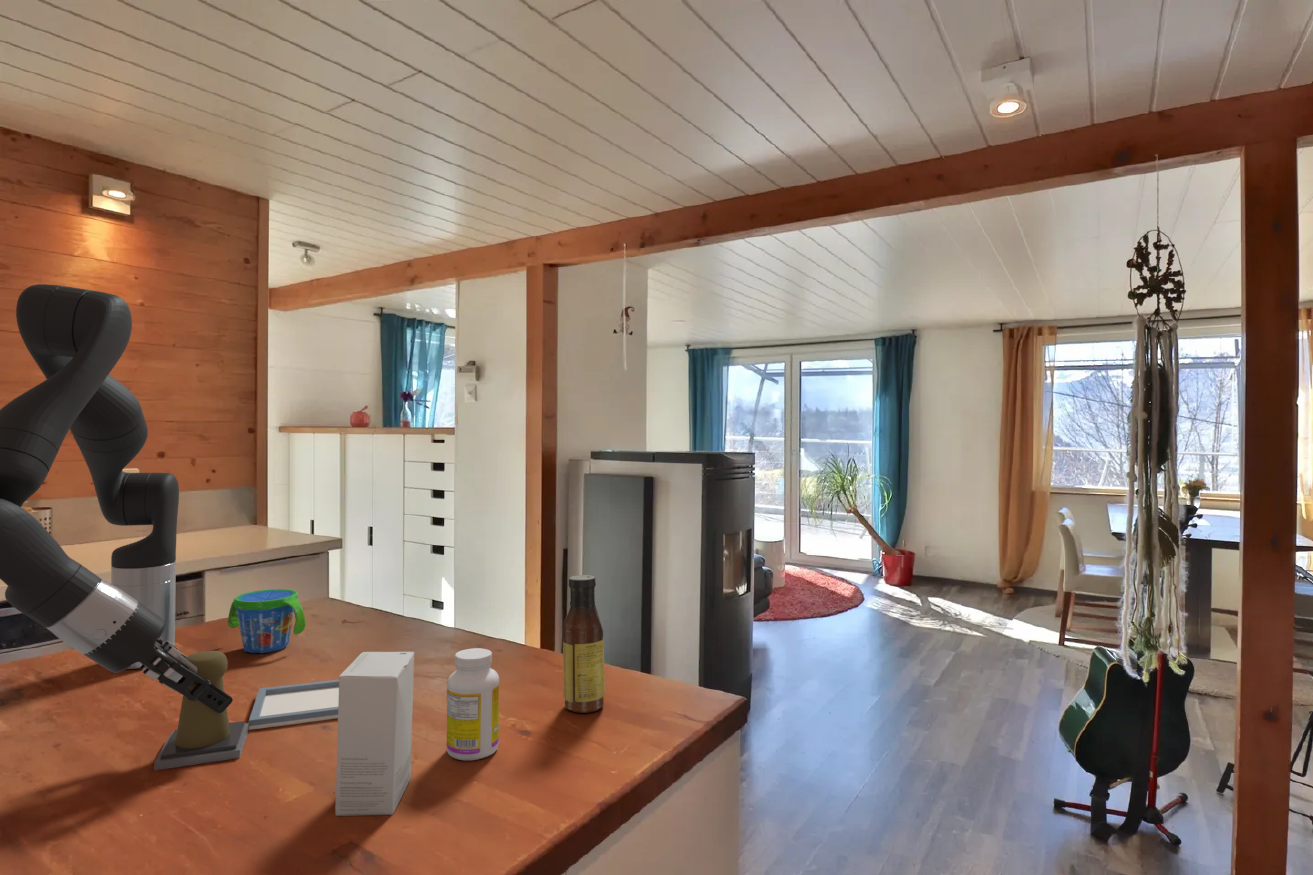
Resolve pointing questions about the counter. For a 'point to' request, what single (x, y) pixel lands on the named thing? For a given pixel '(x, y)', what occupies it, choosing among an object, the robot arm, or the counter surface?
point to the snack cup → (266, 618)
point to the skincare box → (374, 733)
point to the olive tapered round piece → (203, 706)
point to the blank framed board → (295, 704)
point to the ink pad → (203, 749)
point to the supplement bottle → (472, 706)
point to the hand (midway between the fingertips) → (221, 700)
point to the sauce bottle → (583, 649)
